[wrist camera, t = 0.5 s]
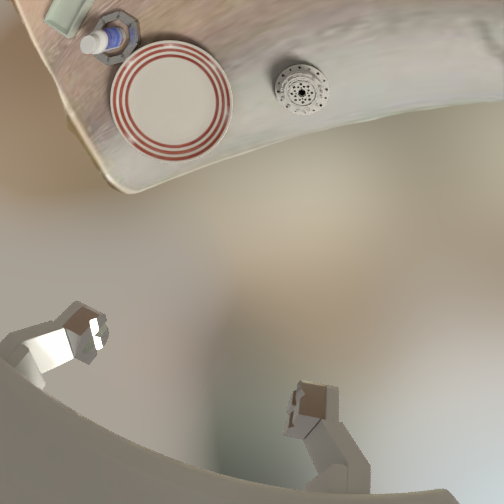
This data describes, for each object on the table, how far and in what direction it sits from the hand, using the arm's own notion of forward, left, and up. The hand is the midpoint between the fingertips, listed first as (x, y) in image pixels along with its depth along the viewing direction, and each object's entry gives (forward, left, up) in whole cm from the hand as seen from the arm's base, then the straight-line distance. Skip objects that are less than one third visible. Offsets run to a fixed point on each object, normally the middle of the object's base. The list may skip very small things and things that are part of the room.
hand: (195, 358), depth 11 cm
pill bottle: (+15, -35, -51) cm, 64 cm away
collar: (+15, -35, -51) cm, 64 cm away
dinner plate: (+19, -15, -51) cm, 57 cm away
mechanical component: (-1, +2, -51) cm, 51 cm away
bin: (+15, -52, -51) cm, 75 cm away
